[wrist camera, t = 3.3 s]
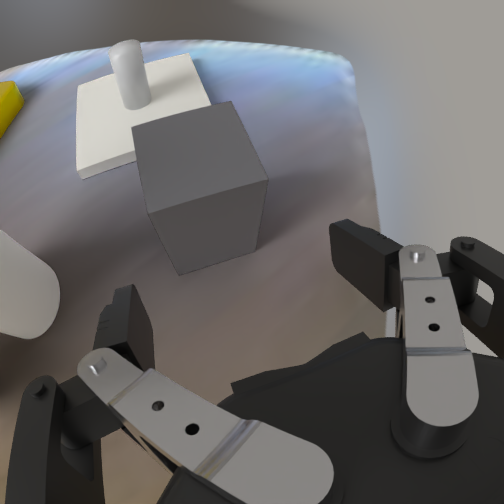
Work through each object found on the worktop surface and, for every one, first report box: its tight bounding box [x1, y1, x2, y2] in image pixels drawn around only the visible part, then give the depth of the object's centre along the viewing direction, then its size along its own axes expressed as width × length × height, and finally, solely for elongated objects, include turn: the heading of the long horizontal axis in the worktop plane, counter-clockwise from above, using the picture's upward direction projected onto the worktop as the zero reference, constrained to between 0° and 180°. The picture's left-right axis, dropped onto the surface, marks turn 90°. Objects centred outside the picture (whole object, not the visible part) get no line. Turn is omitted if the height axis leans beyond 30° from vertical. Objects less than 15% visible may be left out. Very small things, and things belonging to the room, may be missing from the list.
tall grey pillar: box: [131, 101, 268, 275], centre depth 21 cm, size 6×6×10 cm
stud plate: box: [76, 40, 211, 180], centre depth 26 cm, size 14×14×8 cm
